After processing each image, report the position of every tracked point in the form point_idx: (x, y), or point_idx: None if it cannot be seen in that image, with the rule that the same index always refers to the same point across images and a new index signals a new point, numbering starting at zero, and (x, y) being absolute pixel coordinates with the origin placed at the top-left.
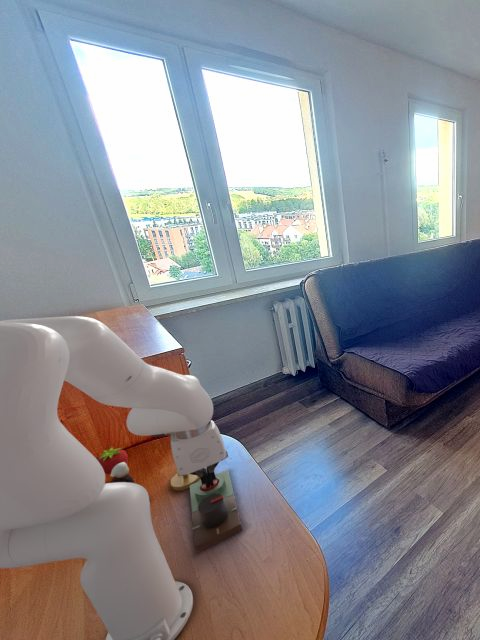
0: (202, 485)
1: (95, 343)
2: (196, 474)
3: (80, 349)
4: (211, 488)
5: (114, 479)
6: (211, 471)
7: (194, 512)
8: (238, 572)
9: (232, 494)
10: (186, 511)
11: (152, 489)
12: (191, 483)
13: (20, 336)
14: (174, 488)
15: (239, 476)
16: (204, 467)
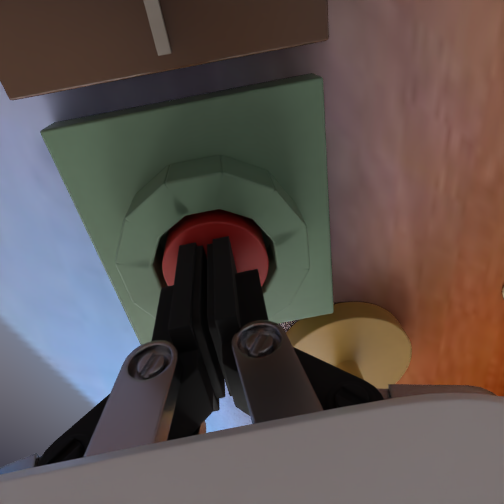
0: (261, 272)
1: None
2: (299, 358)
3: None
4: (197, 223)
5: None
6: (160, 352)
7: (307, 39)
8: None
9: (49, 131)
10: (349, 142)
11: (467, 345)
12: (323, 322)
13: None
14: (395, 320)
15: (76, 289)
16: (168, 448)
